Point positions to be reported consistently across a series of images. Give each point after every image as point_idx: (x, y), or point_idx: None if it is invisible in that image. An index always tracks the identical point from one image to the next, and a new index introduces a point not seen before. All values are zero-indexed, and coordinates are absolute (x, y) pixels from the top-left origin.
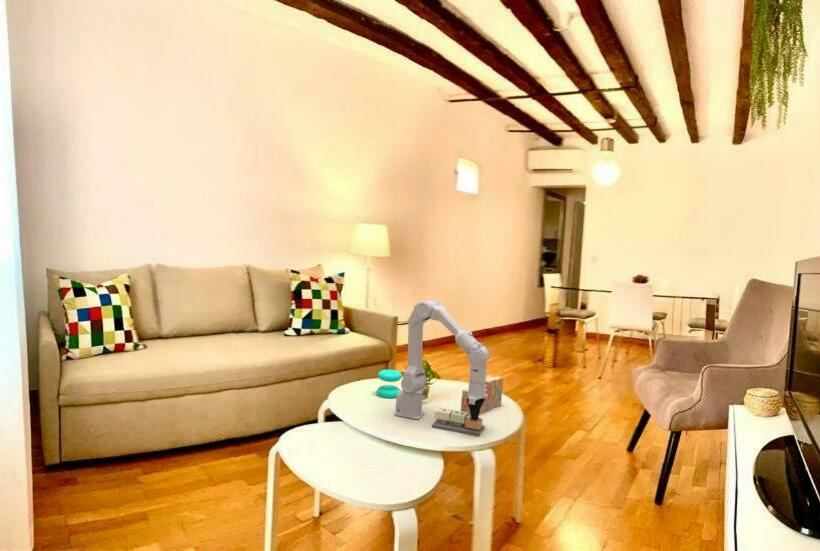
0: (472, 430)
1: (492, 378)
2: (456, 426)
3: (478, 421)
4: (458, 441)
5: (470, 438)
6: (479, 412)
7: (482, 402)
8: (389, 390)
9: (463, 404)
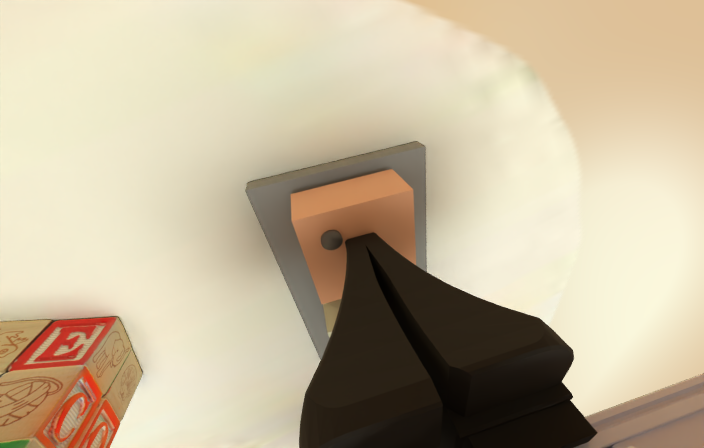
0: None
1: None
2: None
3: (388, 211)
4: (529, 191)
5: (469, 166)
6: (360, 269)
7: (538, 355)
8: None
9: (108, 426)
